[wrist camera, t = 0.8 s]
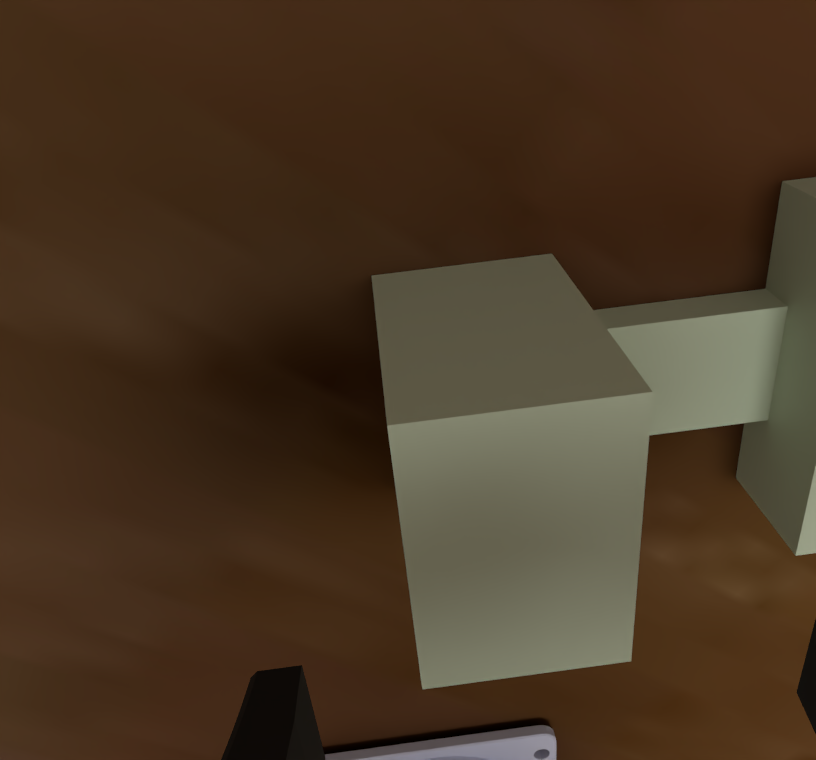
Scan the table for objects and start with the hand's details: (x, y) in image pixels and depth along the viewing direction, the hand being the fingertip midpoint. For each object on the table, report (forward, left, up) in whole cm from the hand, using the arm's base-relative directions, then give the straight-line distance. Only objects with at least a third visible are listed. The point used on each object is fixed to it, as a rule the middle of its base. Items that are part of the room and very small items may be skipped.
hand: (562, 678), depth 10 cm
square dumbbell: (0, -4, -8) cm, 10 cm away
